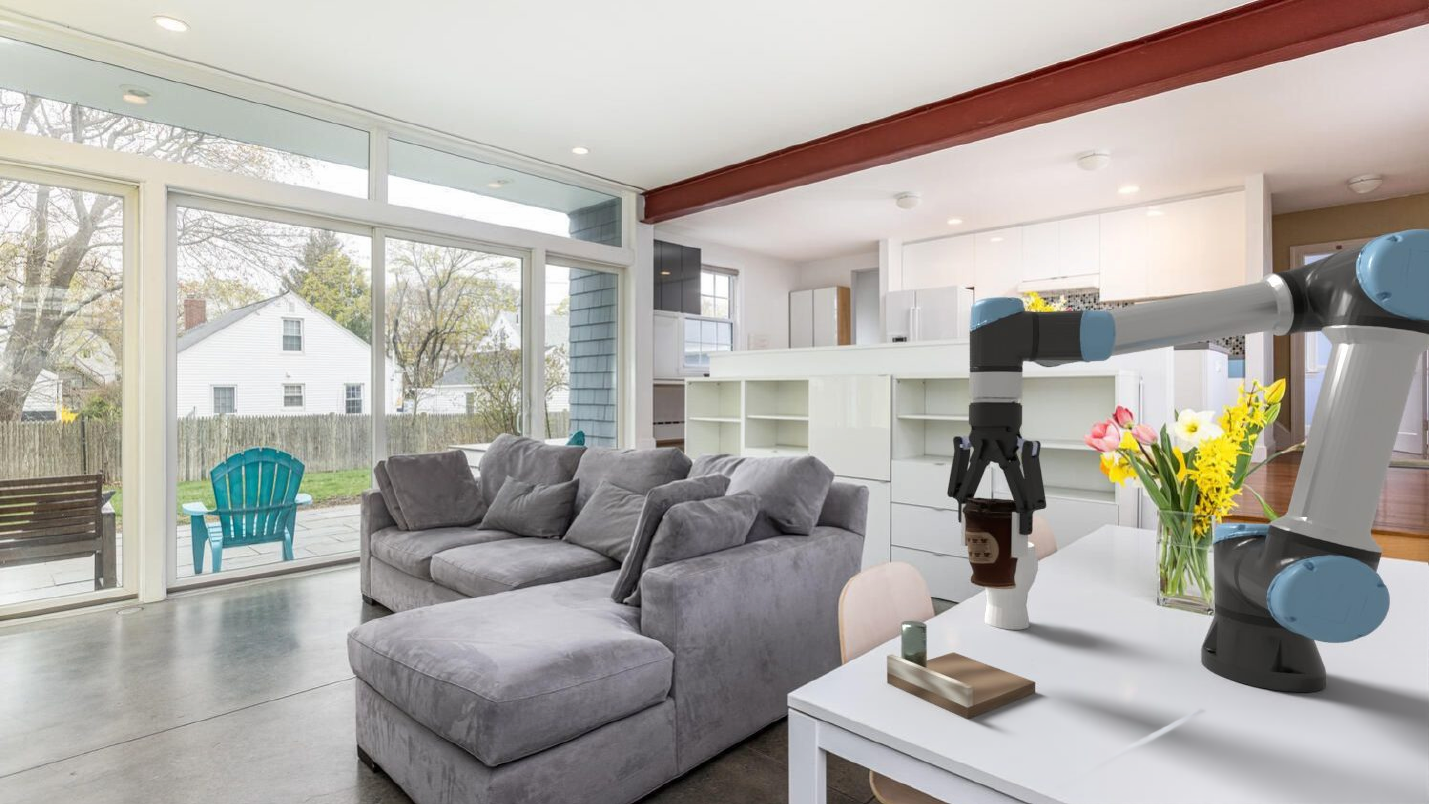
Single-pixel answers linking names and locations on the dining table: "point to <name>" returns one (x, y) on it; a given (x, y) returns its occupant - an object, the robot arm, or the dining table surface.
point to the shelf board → (958, 683)
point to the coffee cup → (990, 542)
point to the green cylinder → (914, 642)
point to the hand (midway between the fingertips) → (993, 550)
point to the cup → (1013, 596)
